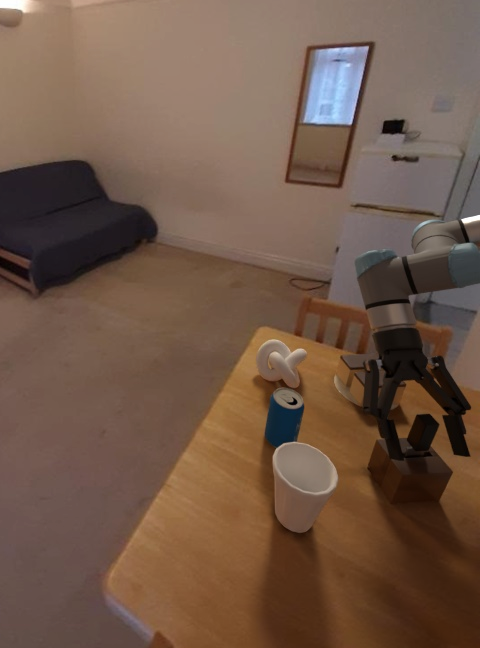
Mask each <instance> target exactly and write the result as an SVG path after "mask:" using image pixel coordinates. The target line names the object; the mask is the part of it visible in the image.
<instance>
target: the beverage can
mask: <svg viewBox="0 0 480 648" xmlns="http://www.w3.org/2000/svg"><path fill="white" fill-rule="evenodd" d="M304 412H305V403H304V398H303V396H302V395H301V394H300V393H299V392H298V391H296V390H294V389H293V388H290V387H279V388H277V389H275V390H274V391H273V393H272V394H271V395H270V399H269V405H268V410H267V417H266V422H265V428H264V437H265V440H266V442H268V443H269V444H270V445H271V446H272V447H274V448H278V447H279V446H281V445H282V444H284V443H289V442H298V438H299V434H300V430H301V424H302V420H303V416H304Z"/></svg>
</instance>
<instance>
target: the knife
mask: <svg viewBox="0 0 480 648" xmlns="http://www.w3.org/2000/svg"><path fill="white" fill-rule="evenodd" d="M439 428H440V423H439V422H438V420H436V418H435V417H433V415H432V414H431V413H417V414H416V415H415V417H414V420H413V422H412V425H411V427H410V430H409V433H408V435H407V437H406V438H407V442H408V443H409V446H410V447H406V450H405V452H404V455H403V457H404V458H416V457H423V455H424V452H425V451H429V448H430V446H431V447H432V444H433V441H434V440H435V437H436V434H437V432H438V431H439Z"/></svg>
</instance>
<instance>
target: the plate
mask: <svg viewBox="0 0 480 648" xmlns="http://www.w3.org/2000/svg"><path fill="white" fill-rule="evenodd" d="M333 382H334V386H335V388H336V390H337V391H338V393H339V394H341V395H342V397H344V398H345V399H346V400H347V401H349V402H351V403H352V404H353V405H354V404H355V405H356V406H359V407H360V408H361V407H362V408H363V406H360V405H359V404H358V402H357V401H356V400H355V399H354V397H353V396H352V395H351V393H350V392H349V391H350V388H351V386H350V387H345V385H344V384H343V383H342V381H341V380H340V379H339V377H338V376H337V375H336V374H335V375H334V377H333ZM399 405H400V404H392V407H391V410H394V409H395V408H397V407H398V406H399Z"/></svg>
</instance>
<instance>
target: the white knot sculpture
mask: <svg viewBox="0 0 480 648" xmlns="http://www.w3.org/2000/svg"><path fill="white" fill-rule="evenodd" d="M307 356H308V353H307V351H306V350H305V349H304V348H297V349H295V350H294V351H291V349H290V348H289V347H288V345H287V344H285V343H284V342H283V341H281V340H280V339H269V340H266V341H265V342H264V343H262V344H261V346H259V349H258V350H257V353H256V357H255V366H256V369H257V373H258V374H259V375H260V376H261V378H263V379H264V380H266V381H268V382H279V381H280V380H282V381H283V382H284V383H285V384H286V386H287V387H288V388H290V389H297V388H298V387H300V383H301V379H300V376H299V371H298V369H297V366H299V365H300V364H301V363H302V362H304V361H305V360H306V359H307ZM270 367H271V368H270Z"/></svg>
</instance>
